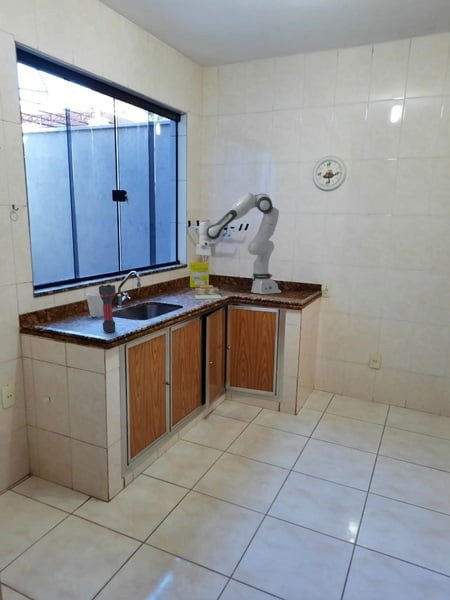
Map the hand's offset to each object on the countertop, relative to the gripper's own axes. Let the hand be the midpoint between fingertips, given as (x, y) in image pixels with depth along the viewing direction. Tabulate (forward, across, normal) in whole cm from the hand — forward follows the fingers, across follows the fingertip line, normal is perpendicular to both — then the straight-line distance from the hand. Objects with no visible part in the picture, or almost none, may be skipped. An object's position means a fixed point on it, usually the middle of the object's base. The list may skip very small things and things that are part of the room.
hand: (205, 261), depth 306 cm
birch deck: (+23, +8, -4) cm, 25 cm away
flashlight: (+23, +64, -101) cm, 122 cm away
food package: (+23, -23, +10) cm, 34 cm away
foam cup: (+23, +28, -94) cm, 101 cm away
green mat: (+23, +18, -10) cm, 31 cm away
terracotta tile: (+19, +7, -4) cm, 21 cm away
